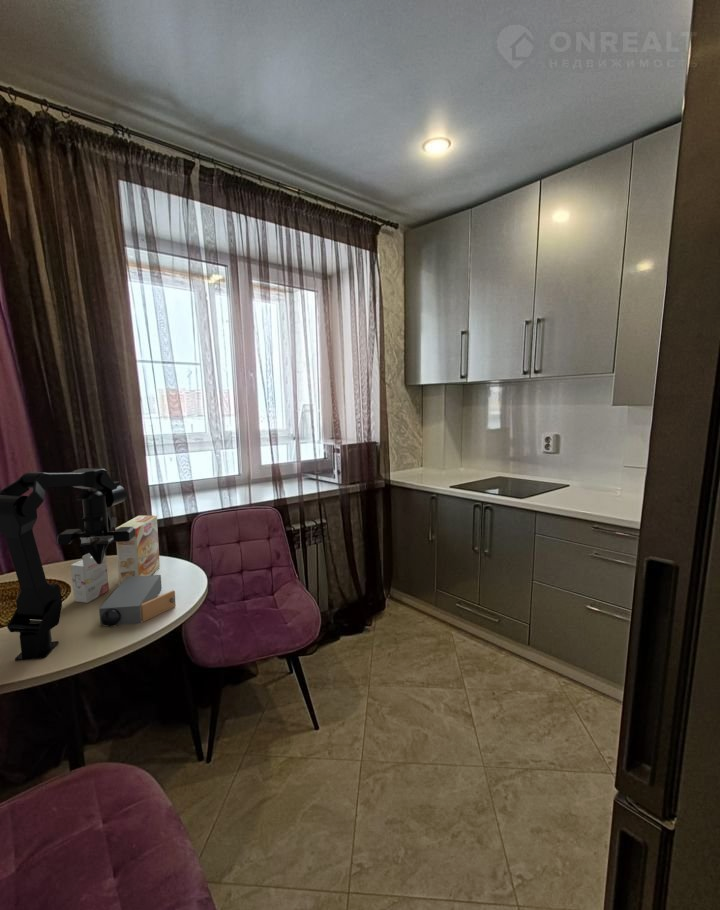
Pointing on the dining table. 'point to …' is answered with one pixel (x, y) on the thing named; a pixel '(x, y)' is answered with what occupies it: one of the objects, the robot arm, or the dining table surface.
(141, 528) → the coffeecake box
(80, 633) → the dining table surface
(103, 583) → the ink cartridge box
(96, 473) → the robot arm
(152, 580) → the box
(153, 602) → the side door
